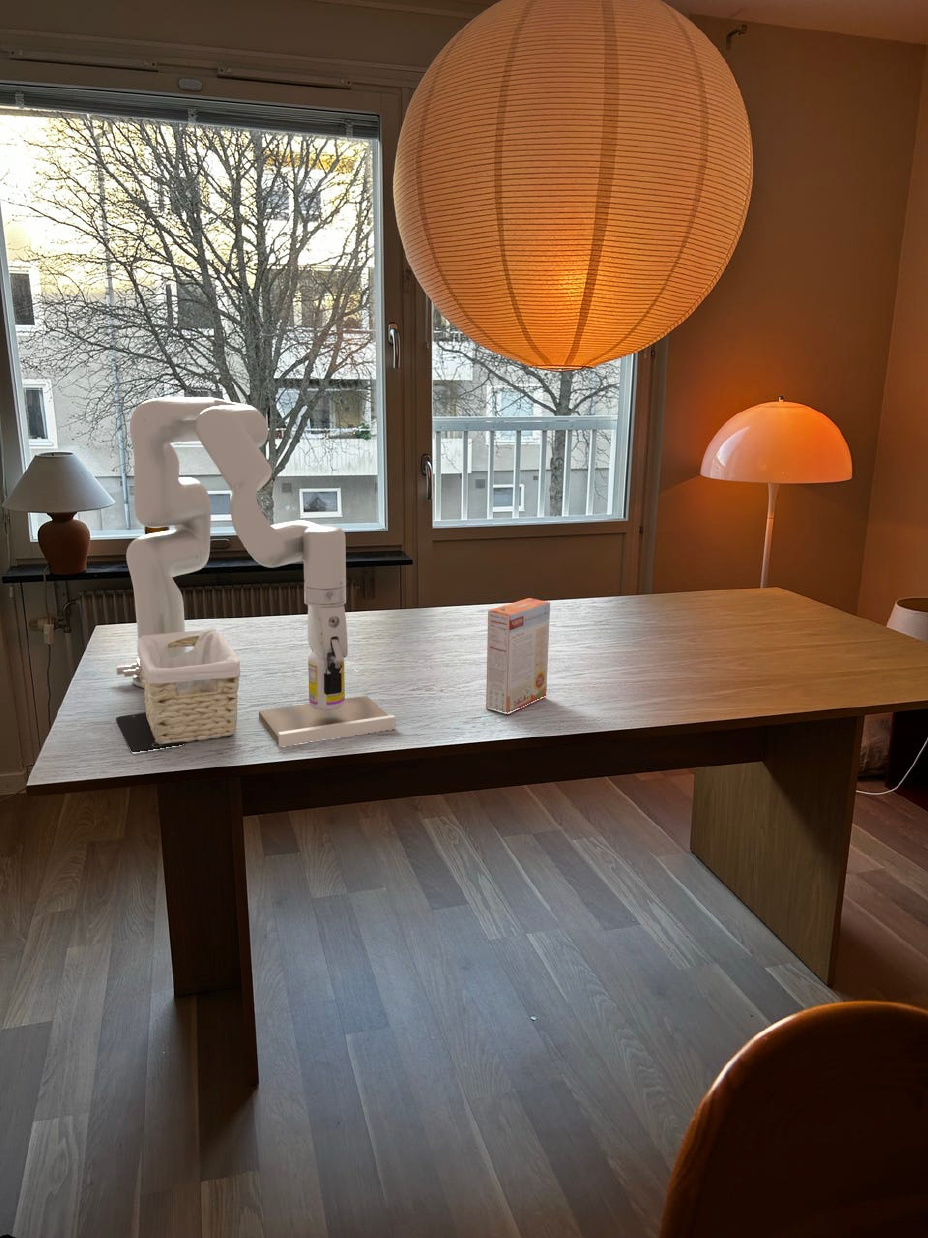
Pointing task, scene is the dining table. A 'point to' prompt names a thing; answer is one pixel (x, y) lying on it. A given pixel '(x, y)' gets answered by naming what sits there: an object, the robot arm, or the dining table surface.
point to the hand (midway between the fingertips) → (326, 686)
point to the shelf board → (318, 715)
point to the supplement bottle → (322, 684)
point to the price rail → (337, 730)
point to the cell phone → (140, 733)
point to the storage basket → (189, 686)
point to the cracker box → (517, 654)
